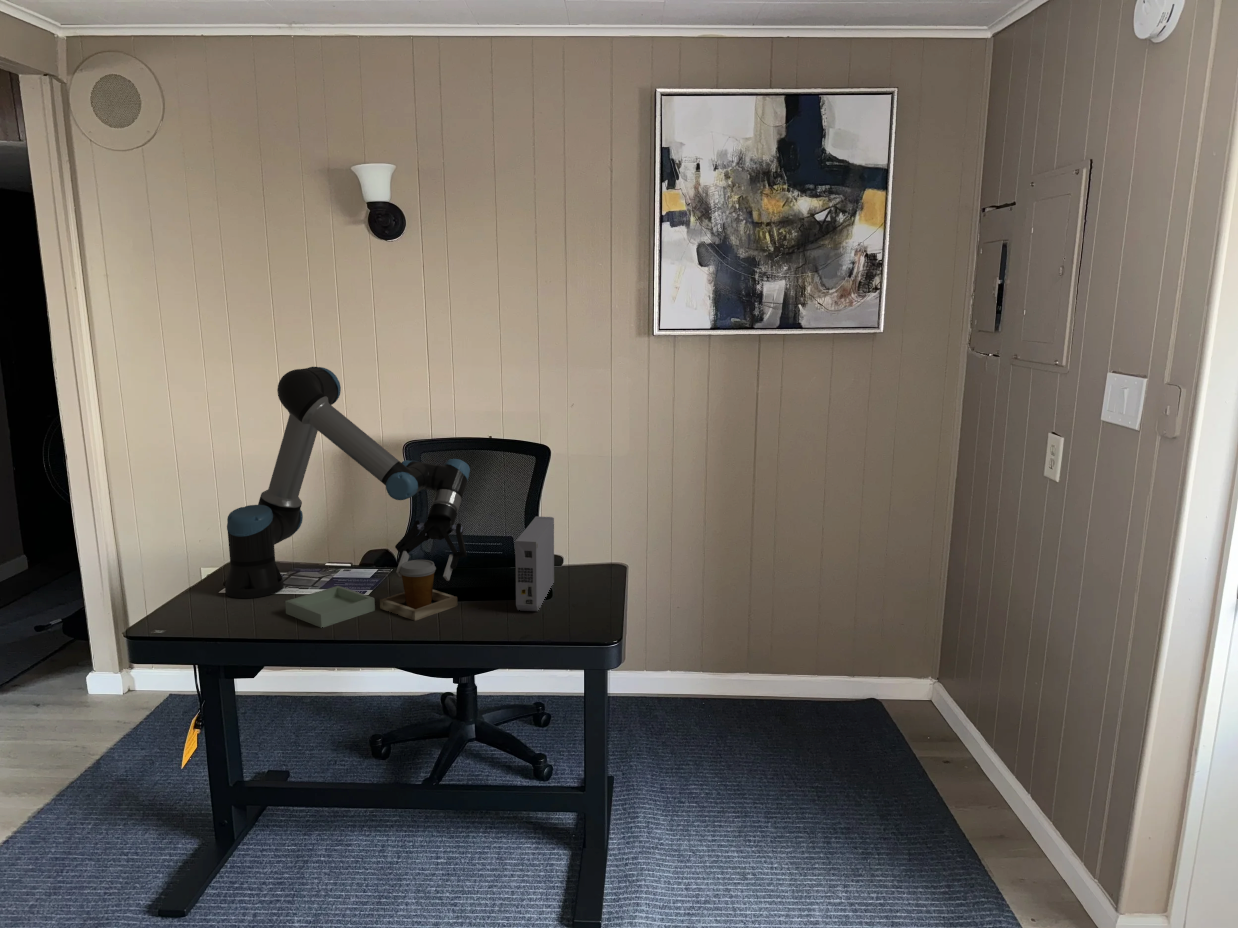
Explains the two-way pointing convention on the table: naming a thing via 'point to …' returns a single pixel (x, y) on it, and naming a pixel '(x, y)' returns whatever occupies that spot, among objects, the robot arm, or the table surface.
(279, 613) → the table surface
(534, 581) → the game console
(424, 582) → the disposable coffee cup
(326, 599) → the tray
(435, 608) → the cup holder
